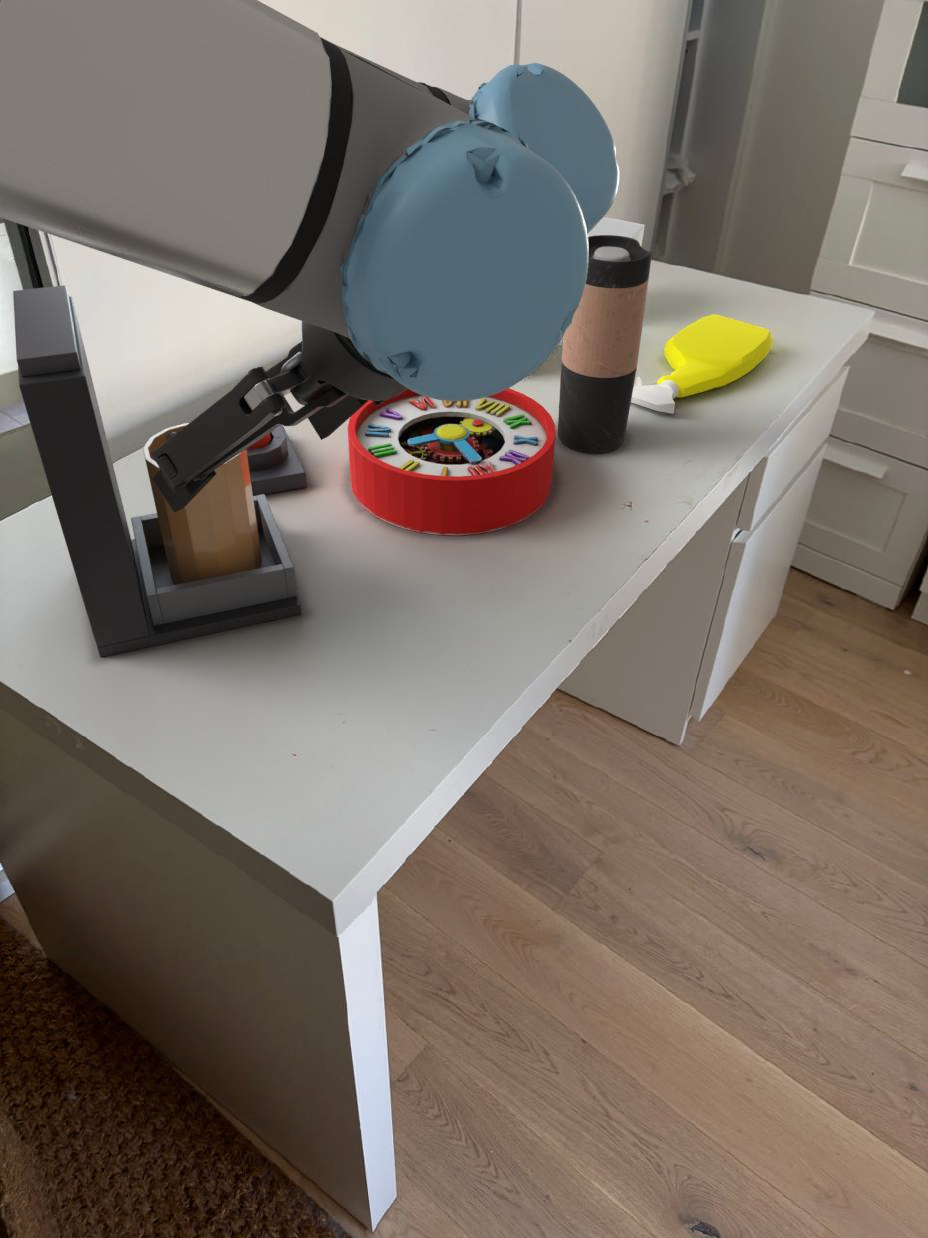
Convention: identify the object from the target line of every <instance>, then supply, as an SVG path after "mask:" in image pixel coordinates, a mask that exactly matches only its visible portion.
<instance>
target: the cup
mask: <svg viewBox="0 0 928 1238" xmlns="http://www.w3.org/2000/svg"><path fill="white" fill-rule="evenodd" d="M189 423H190V422H186V423H185V422H184V423H182V424H177V425H174V426H170V427H166V428H165V429H163V430H161V431H159V432H157V433H156V434H154V435H152V436H150V437H149V438H148V440H147V441H146V443H145V445H144V446H143V448H142V451H143V457H144V462H145V466H146V470H147V475H148V479H149V485H150V489H151V492H152V498H153V502H154V506H155V511H156V513H157V516H158V521H159V525H160V530H161V534H162V539H163V544H164V548H165V553H166V557H167V562H168V566H169V571H170V575H171V579H172V582H173V583H174V585H178V584H183V583H188V582H193V581H198V580H203V579H208V578H213V577H218V576H223V575H228V574H233V573H239V572H244V571H249V570H254V569H259V568H262V557H261V550H260V543H259V536H258V529H257V522H256V515H255V508H254V501H253V494H252V487H251V479H250V472H249V465H248V458H247V451H246V449H245V450H244V451H242V452H241V453H239V454H238V455H236V456H235V457H233V458H232V459H230V460H229V461H227V462H226V463H224V464H223V465H221V466H220V467H218V468H217V469H215V470H214V471H215V472H216V475H215V476H214V477H213V478H212V479H211V480H210V481H209V482H208V483H207V485H206V486H205V487H204V488H203V489H202V490H201V491H200V492H199V493H198V494H197V495H196V496H195V497H194V498H193V499H192V500H191V501H190V502H189V503H188V504H187V505H186V506H185V507H184V508H183V509H181V510H179V511H177V512H175V513H174V511H173V510H172V508H171V507H170V505H169V503H168V502H167V500H166V499H165V497H164V496H163V494H162V493H161V491H160V490H159V488H158V486H157V485H156V483H155V482H154V480H153V477H154V476H155V475H156V474H157V473H158V471H159V470H160V468H159V466H158V465H157V463H156V461H155V460H154V458H153V457H152V455H151V453H152V452H153V451H155V449H156V448H157V447H159V446H161V445H162V444H164V443H165V442H166V441H167V439H166V435H167V434H168V433H170V432H171V433H172V432H179V431H180V430H181V429H183V428H184V427H185V426H186V425H188V424H189Z"/></svg>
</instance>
